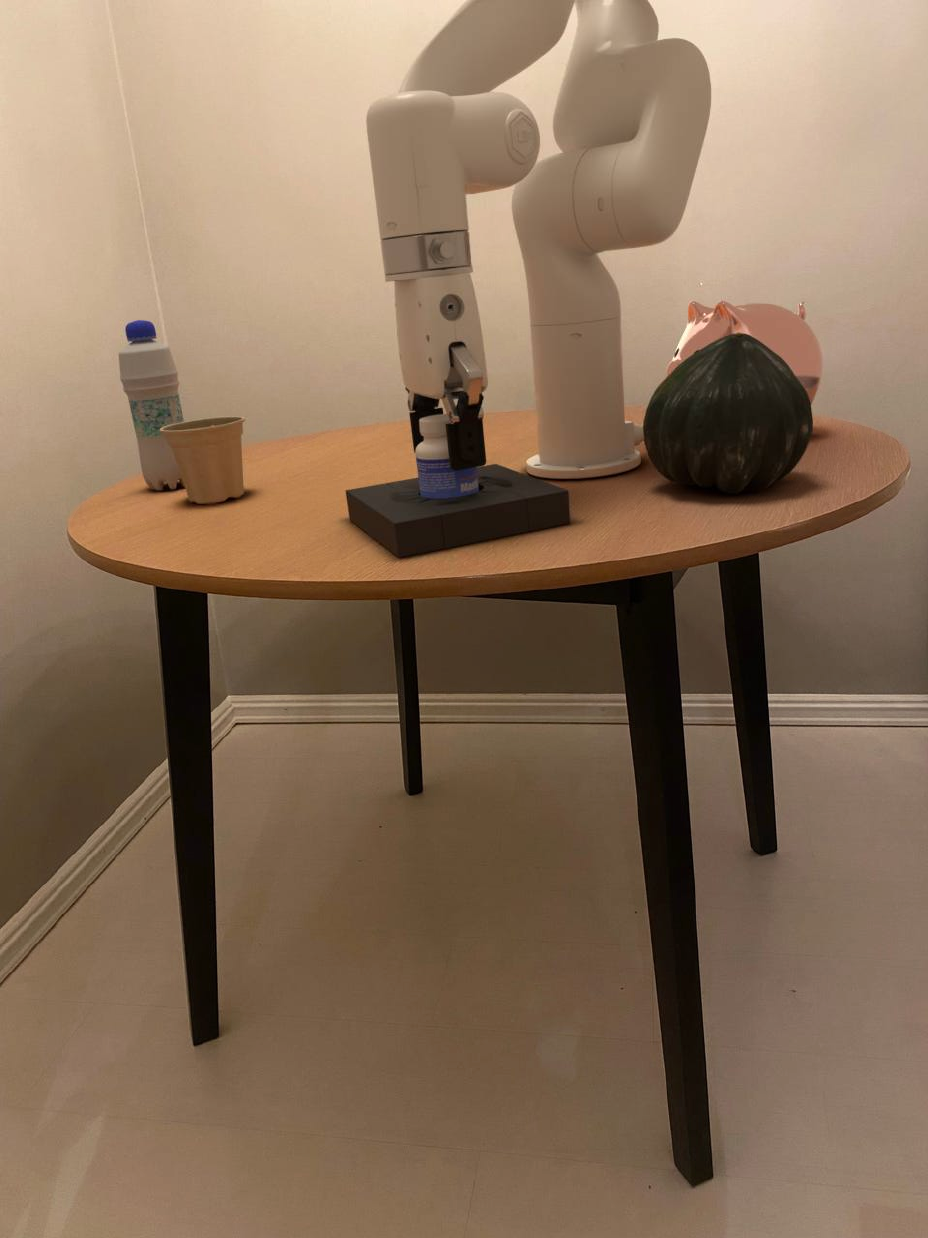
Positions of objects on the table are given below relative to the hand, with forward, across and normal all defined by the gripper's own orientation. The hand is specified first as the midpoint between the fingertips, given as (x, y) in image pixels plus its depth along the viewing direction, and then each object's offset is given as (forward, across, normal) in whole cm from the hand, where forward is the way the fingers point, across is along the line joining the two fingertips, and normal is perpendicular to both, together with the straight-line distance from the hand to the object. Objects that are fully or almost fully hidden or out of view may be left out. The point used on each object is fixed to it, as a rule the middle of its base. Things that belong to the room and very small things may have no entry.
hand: (448, 459), depth 85 cm
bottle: (+6, +42, +22) cm, 48 cm away
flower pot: (+6, +30, +18) cm, 35 cm away
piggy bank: (+6, +12, -41) cm, 43 cm away
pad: (+6, 0, 0) cm, 6 cm away
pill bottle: (+6, 0, 0) cm, 6 cm away
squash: (+6, -6, -26) cm, 27 cm away
